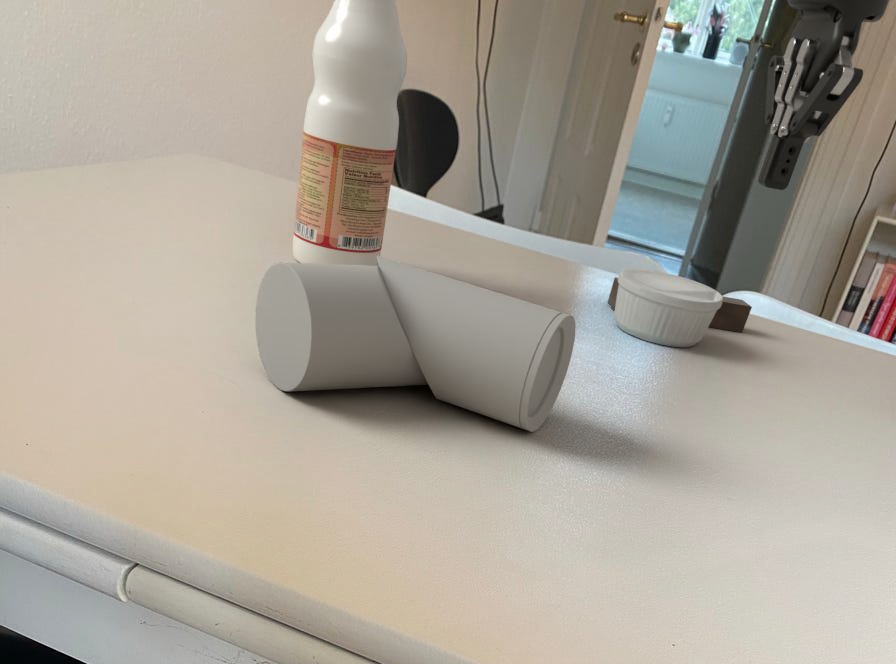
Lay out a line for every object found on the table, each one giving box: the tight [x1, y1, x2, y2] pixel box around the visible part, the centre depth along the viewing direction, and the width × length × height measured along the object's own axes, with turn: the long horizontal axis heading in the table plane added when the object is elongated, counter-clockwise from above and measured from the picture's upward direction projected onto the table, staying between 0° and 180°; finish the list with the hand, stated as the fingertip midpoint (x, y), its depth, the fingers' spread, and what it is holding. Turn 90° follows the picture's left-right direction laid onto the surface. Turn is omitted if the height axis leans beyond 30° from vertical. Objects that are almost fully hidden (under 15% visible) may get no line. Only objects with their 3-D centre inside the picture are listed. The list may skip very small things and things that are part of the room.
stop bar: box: [606, 277, 752, 333], centre depth 105 cm, size 16×3×3 cm, turn 94°
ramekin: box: [613, 268, 723, 348], centre depth 97 cm, size 11×11×5 cm
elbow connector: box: [254, 255, 576, 433], centre depth 65 cm, size 18×11×20 cm
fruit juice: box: [292, 0, 408, 266], centre depth 90 cm, size 9×9×28 cm
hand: (771, 186), depth 79 cm, fingers closed
